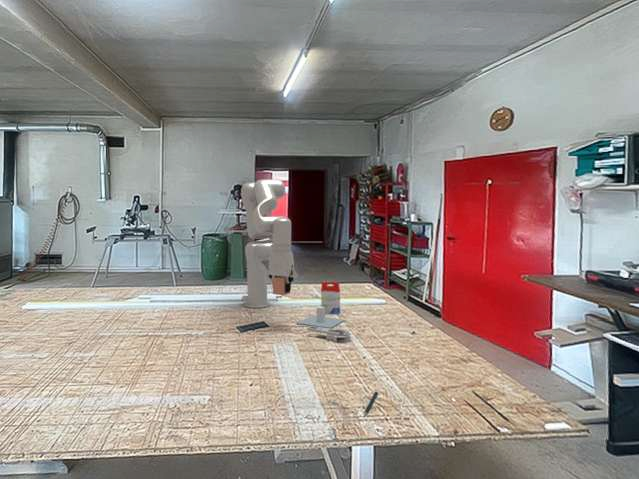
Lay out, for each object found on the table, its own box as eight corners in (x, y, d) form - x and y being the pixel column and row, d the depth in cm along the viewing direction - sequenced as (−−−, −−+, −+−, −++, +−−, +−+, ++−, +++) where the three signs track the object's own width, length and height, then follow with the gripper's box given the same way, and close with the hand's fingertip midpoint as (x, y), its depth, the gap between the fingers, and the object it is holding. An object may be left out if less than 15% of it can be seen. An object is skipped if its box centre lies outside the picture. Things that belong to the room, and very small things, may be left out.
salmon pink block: (272, 293, 203) (272, 277, 202) (279, 291, 208) (279, 275, 207) (283, 295, 201) (283, 278, 200) (290, 292, 205) (290, 276, 204)
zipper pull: (313, 332, 196) (313, 321, 196) (354, 338, 187) (354, 327, 187) (303, 337, 189) (303, 326, 189) (345, 344, 180) (345, 332, 180)
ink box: (340, 311, 230) (340, 280, 228) (339, 314, 225) (339, 282, 224) (322, 311, 231) (322, 280, 229) (320, 313, 226) (321, 282, 224)
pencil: (377, 394, 136) (365, 418, 122) (374, 394, 136) (362, 418, 122) (377, 391, 136) (365, 415, 122) (374, 391, 136) (362, 414, 122)
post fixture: (296, 324, 207) (296, 308, 207) (311, 316, 220) (312, 302, 219) (330, 329, 200) (330, 313, 200) (344, 321, 213) (344, 306, 212)
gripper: (259, 247, 202) (259, 290, 205) (295, 251, 195) (294, 295, 197) (269, 245, 209) (269, 287, 211) (304, 248, 201) (303, 292, 204)
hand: (281, 291), depth 204 cm, fingers closed on salmon pink block, 5 cm apart
